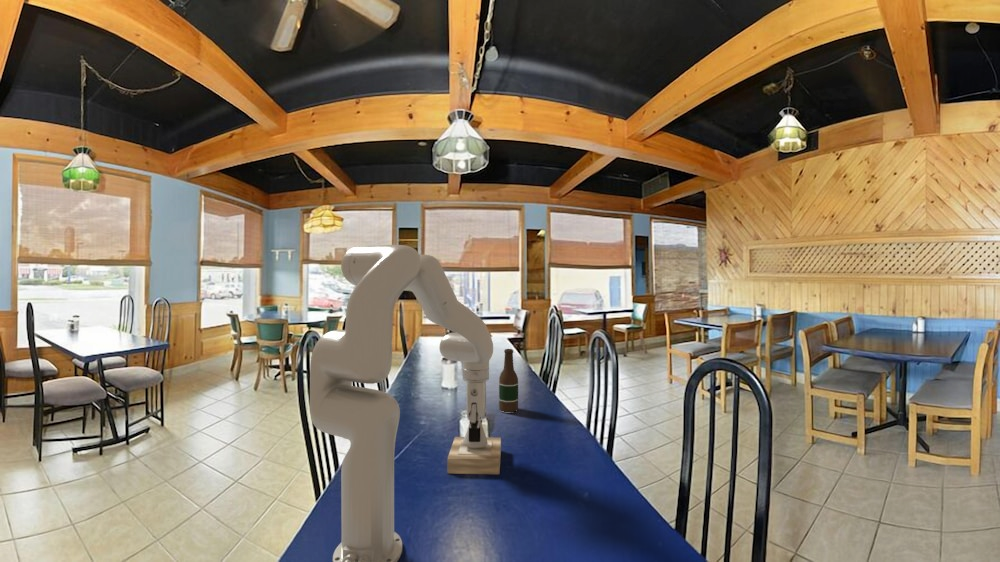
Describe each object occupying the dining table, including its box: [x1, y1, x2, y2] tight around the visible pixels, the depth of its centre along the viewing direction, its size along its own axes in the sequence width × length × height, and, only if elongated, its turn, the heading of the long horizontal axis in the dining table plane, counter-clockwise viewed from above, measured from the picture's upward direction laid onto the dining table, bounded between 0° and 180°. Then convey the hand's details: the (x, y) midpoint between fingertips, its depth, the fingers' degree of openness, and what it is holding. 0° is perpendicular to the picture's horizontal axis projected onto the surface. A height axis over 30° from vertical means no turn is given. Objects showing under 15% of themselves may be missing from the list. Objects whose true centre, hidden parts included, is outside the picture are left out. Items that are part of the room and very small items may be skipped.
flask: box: [463, 414, 488, 448], centre depth 112 cm, size 7×7×10 cm
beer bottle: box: [498, 348, 519, 412], centre depth 154 cm, size 8×8×24 cm
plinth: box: [446, 436, 502, 475], centre depth 112 cm, size 14×14×4 cm
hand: (475, 436), depth 112 cm, fingers closed on flask, 4 cm apart
